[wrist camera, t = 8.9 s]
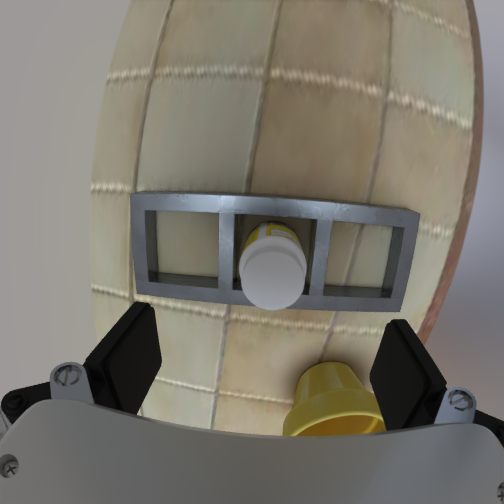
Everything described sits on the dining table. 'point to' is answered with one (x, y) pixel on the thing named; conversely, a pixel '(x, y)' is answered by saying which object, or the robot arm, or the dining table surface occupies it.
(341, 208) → the grey long slotted tray
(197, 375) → the dining table surface
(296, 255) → the supplement bottle
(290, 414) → the plant pot
